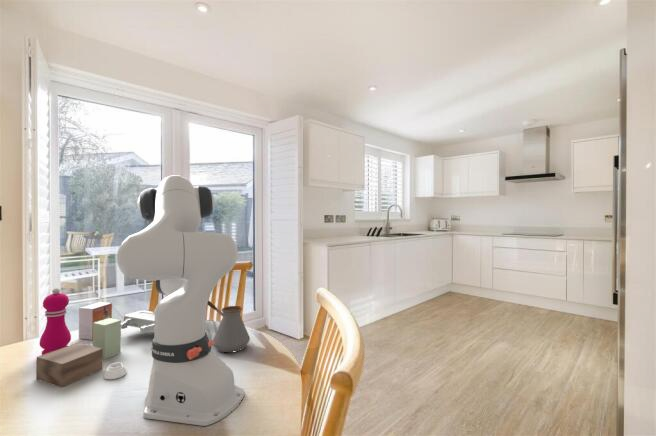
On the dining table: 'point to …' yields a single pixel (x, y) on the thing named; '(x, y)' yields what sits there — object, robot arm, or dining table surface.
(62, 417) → the dining table surface
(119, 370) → the white hollow cone
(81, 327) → the small box
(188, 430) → the dining table surface
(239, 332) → the coffee pot
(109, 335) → the sage block
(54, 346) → the pepper mill
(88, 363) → the walnut block
